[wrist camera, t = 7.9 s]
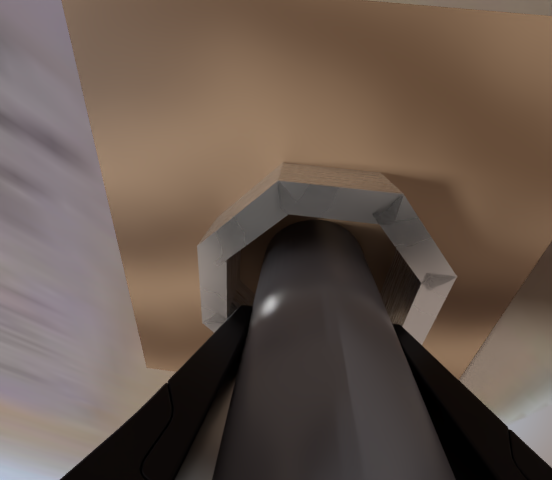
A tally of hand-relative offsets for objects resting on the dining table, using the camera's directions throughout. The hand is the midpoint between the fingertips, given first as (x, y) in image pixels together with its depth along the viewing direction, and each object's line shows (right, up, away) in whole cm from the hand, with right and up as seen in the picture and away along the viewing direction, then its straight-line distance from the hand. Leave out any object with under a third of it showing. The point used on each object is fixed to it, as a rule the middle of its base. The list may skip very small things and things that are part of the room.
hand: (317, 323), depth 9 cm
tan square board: (0, +2, +4) cm, 5 cm away
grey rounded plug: (0, +2, +3) cm, 4 cm away
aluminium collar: (0, +2, +3) cm, 4 cm away
